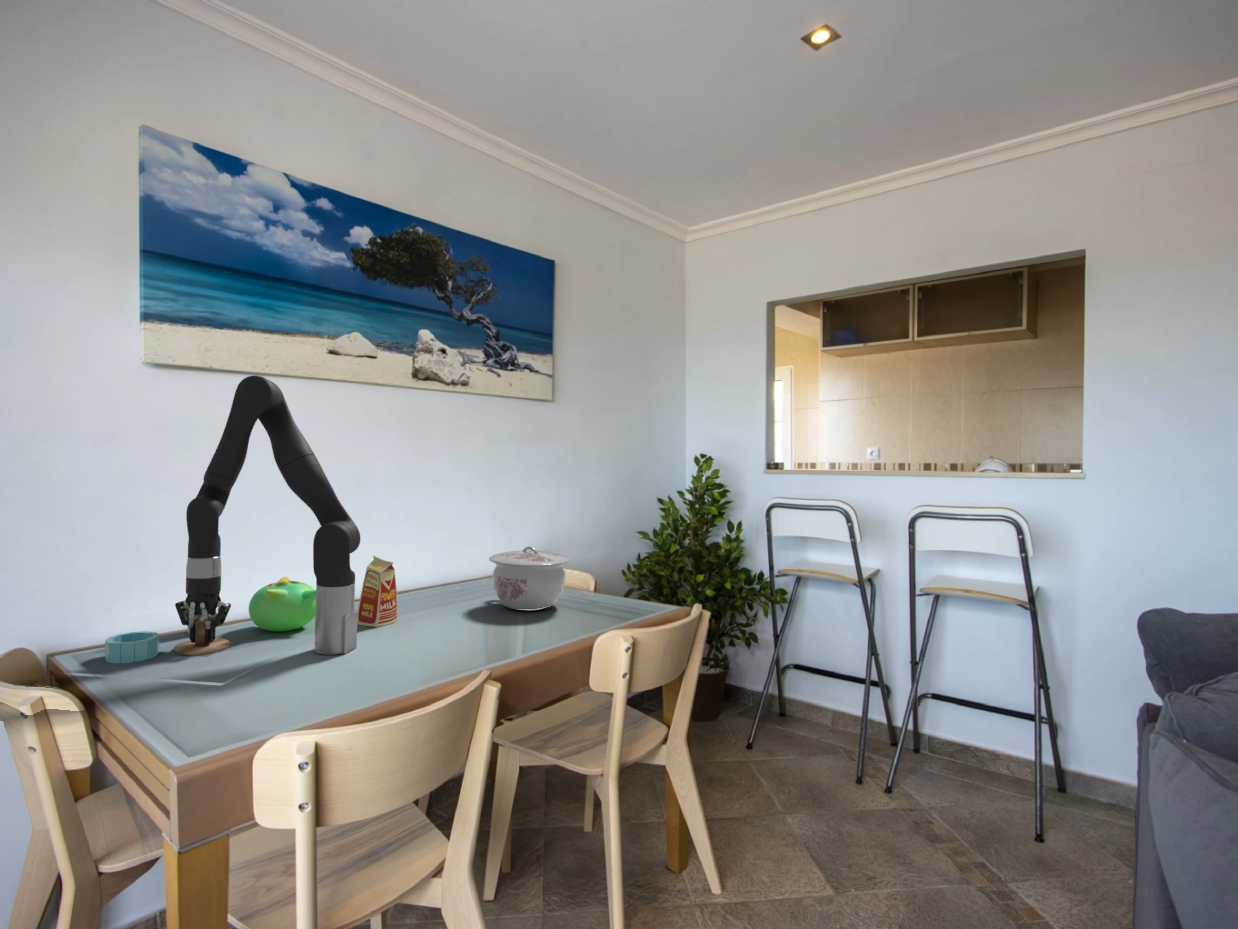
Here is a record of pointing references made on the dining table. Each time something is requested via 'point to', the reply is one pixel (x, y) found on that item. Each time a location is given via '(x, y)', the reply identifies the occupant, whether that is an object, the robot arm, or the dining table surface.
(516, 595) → the chamber pot
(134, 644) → the bowl
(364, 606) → the milk carton
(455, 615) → the dining table surface
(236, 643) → the mat
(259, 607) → the toy bird
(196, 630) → the lid
